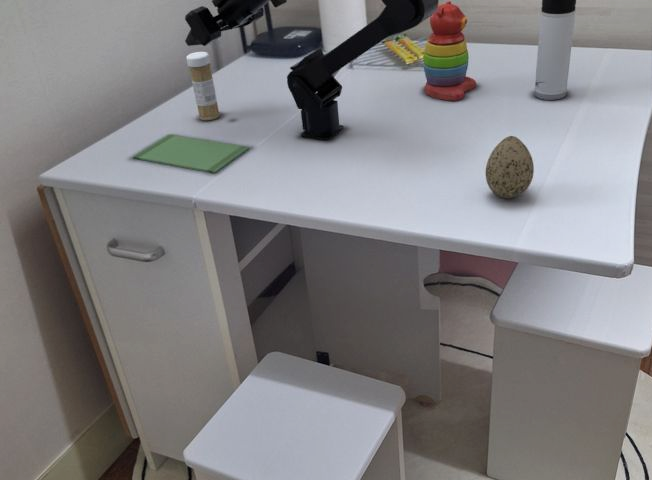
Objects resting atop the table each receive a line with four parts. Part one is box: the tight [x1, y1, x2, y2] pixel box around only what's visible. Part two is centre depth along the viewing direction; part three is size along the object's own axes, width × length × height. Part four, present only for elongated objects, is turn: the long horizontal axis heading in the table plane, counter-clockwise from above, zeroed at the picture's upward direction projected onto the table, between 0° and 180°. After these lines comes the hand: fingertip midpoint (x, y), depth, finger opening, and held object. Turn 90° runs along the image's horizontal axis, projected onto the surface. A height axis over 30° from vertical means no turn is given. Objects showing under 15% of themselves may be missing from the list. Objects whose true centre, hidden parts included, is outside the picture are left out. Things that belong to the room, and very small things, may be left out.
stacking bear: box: [422, 0, 477, 102], centre depth 143 cm, size 11×10×18 cm
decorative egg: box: [485, 135, 535, 200], centre depth 106 cm, size 7×7×10 cm
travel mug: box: [533, 0, 577, 101], centre depth 135 cm, size 6×7×20 cm
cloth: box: [132, 134, 250, 174], centre depth 133 cm, size 20×11×1 cm, turn 60°
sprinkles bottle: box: [186, 51, 221, 121], centre depth 145 cm, size 5×5×13 cm
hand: (201, 36), depth 138 cm, fingers open, 9 cm apart
